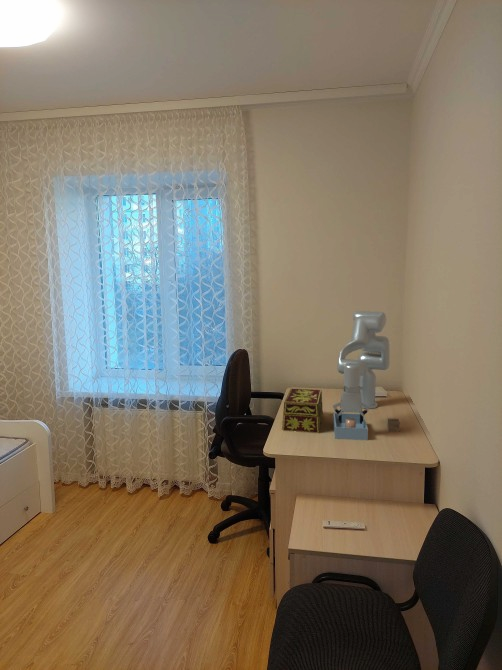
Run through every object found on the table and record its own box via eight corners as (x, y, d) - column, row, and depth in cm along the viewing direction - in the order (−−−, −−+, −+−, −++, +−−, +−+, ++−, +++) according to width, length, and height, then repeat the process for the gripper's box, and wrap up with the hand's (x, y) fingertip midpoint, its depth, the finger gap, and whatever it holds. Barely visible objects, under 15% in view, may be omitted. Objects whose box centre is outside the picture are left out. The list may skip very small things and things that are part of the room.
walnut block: (387, 427, 232) (387, 418, 231) (397, 428, 231) (397, 418, 230) (389, 431, 227) (389, 421, 226) (399, 431, 226) (399, 422, 226)
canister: (344, 431, 226) (345, 417, 224) (355, 431, 225) (355, 418, 224) (345, 435, 221) (345, 421, 220) (355, 435, 220) (356, 421, 219)
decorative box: (289, 413, 255) (289, 387, 253) (322, 415, 251) (323, 389, 249) (281, 431, 229) (281, 402, 227) (319, 433, 225) (319, 404, 223)
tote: (333, 423, 239) (333, 412, 238) (362, 424, 237) (363, 414, 236) (334, 438, 218) (335, 427, 217) (367, 440, 216) (367, 428, 215)
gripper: (369, 387, 222) (368, 420, 225) (332, 386, 224) (332, 419, 227) (370, 391, 214) (369, 426, 218) (333, 390, 217) (333, 424, 220)
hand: (350, 422), depth 222 cm, fingers open, 9 cm apart
